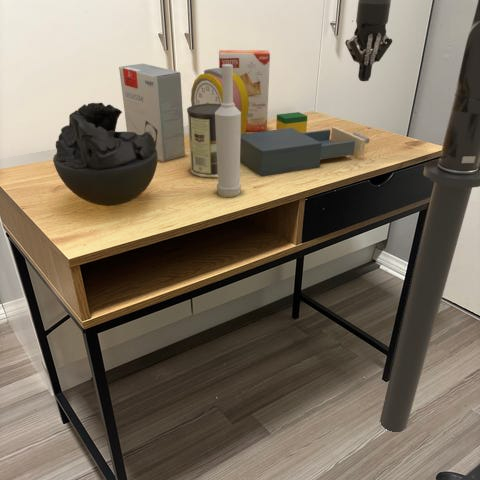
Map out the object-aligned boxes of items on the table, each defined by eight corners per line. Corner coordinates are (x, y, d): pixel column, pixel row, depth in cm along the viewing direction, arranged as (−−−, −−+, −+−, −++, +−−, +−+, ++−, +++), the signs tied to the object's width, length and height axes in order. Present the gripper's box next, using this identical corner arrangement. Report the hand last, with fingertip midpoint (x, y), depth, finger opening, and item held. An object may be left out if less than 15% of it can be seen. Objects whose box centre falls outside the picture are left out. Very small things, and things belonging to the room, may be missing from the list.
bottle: (245, 194, 109) (246, 65, 94) (224, 199, 107) (221, 68, 92) (233, 187, 113) (232, 62, 98) (212, 191, 110) (208, 64, 96)
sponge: (297, 133, 148) (298, 111, 144) (305, 138, 144) (307, 116, 140) (275, 136, 145) (276, 114, 142) (284, 141, 142) (285, 118, 138)
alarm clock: (191, 138, 144) (187, 66, 133) (213, 132, 148) (211, 63, 138) (225, 149, 135) (224, 74, 124) (248, 143, 139) (249, 70, 129)
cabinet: (290, 150, 135) (291, 127, 131) (319, 167, 124) (321, 142, 120) (235, 157, 129) (235, 134, 126) (261, 176, 118) (262, 151, 115)
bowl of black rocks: (134, 178, 117) (123, 90, 106) (179, 206, 104) (172, 109, 93) (49, 198, 107) (27, 103, 96) (86, 231, 94) (66, 126, 83)
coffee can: (234, 164, 125) (234, 103, 117) (231, 178, 117) (231, 114, 109) (193, 163, 126) (190, 102, 118) (187, 177, 118) (183, 113, 109)
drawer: (347, 139, 139) (348, 124, 137) (377, 153, 129) (379, 137, 127) (286, 147, 133) (287, 132, 131) (313, 163, 123) (315, 147, 121)
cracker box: (220, 132, 149) (218, 52, 136) (219, 126, 153) (218, 49, 141) (267, 132, 149) (270, 52, 137) (266, 126, 154) (268, 49, 142)
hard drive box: (127, 149, 135) (117, 66, 124) (151, 143, 140) (143, 62, 128) (162, 162, 126) (155, 75, 115) (186, 156, 130) (181, 70, 119)
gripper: (360, 2, 115) (350, 85, 125) (407, 1, 119) (394, 81, 129) (342, 0, 120) (333, 80, 131) (387, -1, 125) (376, 76, 135)
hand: (363, 80), depth 130 cm, fingers closed
